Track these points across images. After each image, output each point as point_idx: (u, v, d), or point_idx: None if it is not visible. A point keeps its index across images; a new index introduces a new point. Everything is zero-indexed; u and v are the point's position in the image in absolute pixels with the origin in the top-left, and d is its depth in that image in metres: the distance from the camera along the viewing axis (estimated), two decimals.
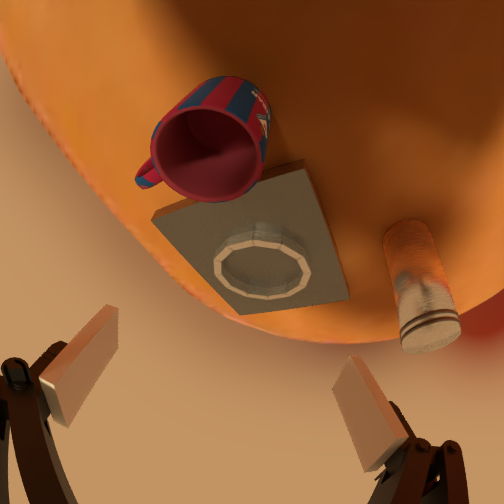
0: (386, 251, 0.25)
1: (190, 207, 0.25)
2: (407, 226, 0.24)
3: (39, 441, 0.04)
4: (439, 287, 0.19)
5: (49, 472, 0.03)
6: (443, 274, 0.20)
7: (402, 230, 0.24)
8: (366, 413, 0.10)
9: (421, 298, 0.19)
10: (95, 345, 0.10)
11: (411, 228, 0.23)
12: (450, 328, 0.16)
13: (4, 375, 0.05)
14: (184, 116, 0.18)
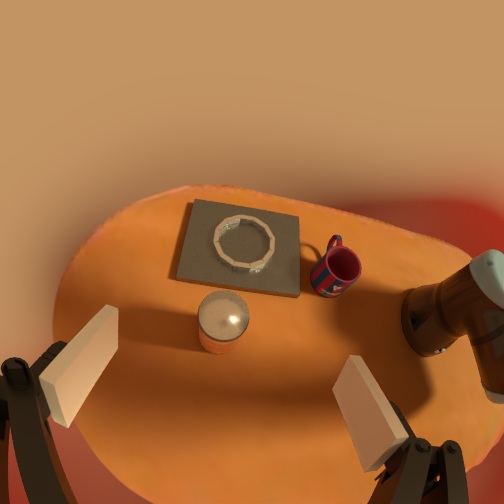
0: None
1: (298, 238, 0.49)
2: None
3: (39, 441, 0.04)
4: None
5: (49, 472, 0.03)
6: (232, 343, 0.33)
7: None
8: (366, 413, 0.10)
9: None
10: (95, 345, 0.10)
11: None
12: (242, 328, 0.29)
13: (4, 375, 0.05)
14: (338, 266, 0.48)
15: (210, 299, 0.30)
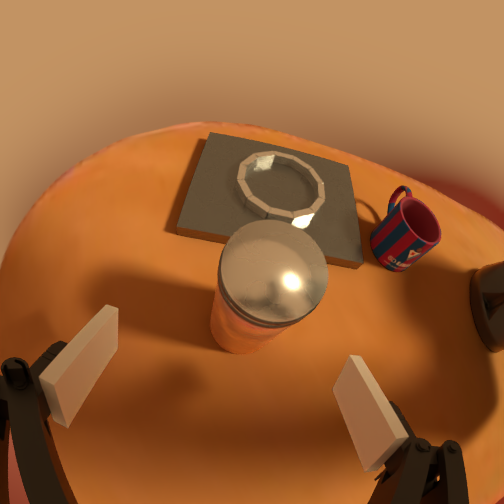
0: None
1: (351, 190, 0.34)
2: None
3: (39, 441, 0.04)
4: None
5: (49, 472, 0.04)
6: (277, 334, 0.17)
7: None
8: (366, 413, 0.10)
9: None
10: (95, 345, 0.10)
11: None
12: (316, 295, 0.13)
13: (4, 375, 0.05)
14: None
15: (247, 234, 0.14)
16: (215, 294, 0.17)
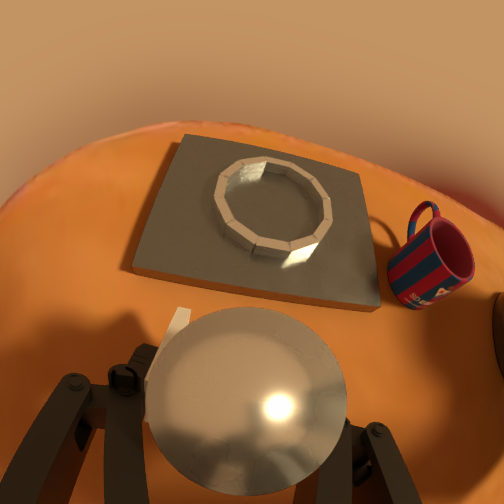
0: None
1: (364, 206, 0.26)
2: None
3: (136, 447, 0.06)
4: None
5: (139, 478, 0.05)
6: None
7: None
8: None
9: None
10: None
11: None
12: (323, 449, 0.06)
13: (110, 379, 0.08)
14: None
15: (195, 343, 0.07)
16: None
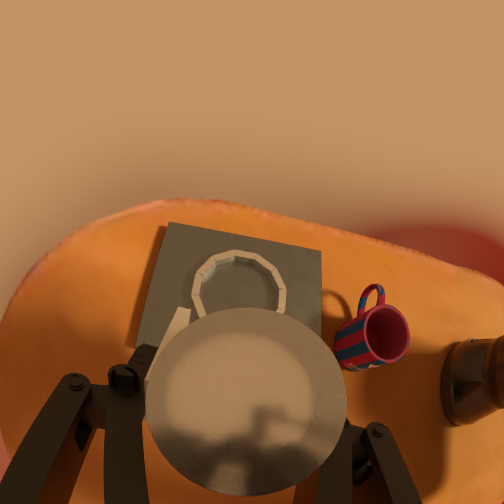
0: None
1: (319, 286, 0.33)
2: None
3: (136, 447, 0.06)
4: None
5: (139, 478, 0.05)
6: None
7: None
8: None
9: None
10: None
11: None
12: (323, 450, 0.06)
13: (110, 379, 0.08)
14: (373, 326, 0.31)
15: (195, 344, 0.07)
16: None
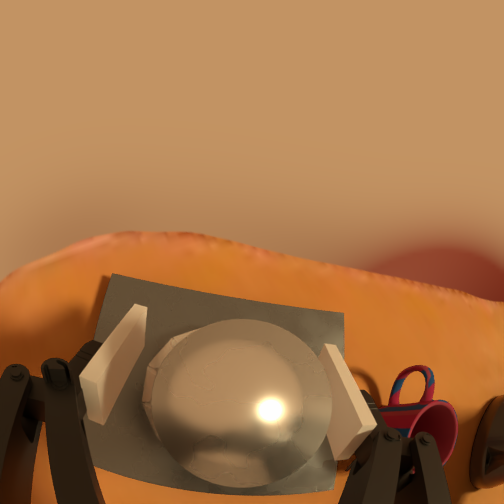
0: None
1: None
2: None
3: (75, 442, 0.05)
4: None
5: (83, 473, 0.04)
6: None
7: None
8: (337, 400, 0.11)
9: None
10: (128, 343, 0.11)
11: None
12: (310, 447, 0.07)
13: (44, 374, 0.06)
14: None
15: (195, 351, 0.08)
16: None
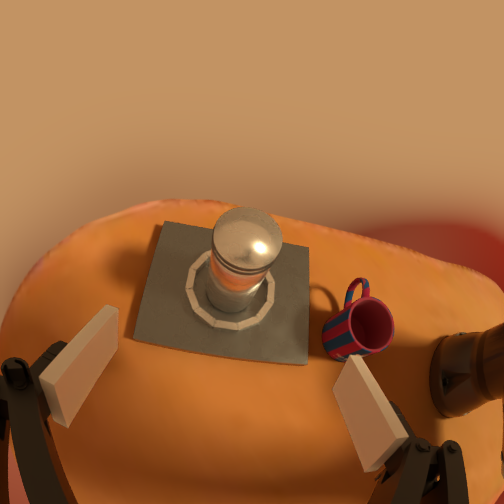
0: None
1: (307, 280, 0.35)
2: None
3: (39, 441, 0.04)
4: (267, 272, 0.25)
5: (50, 473, 0.03)
6: (253, 288, 0.26)
7: None
8: (366, 413, 0.10)
9: None
10: (95, 345, 0.10)
11: None
12: (273, 253, 0.22)
13: (4, 375, 0.05)
14: (360, 319, 0.33)
15: (230, 215, 0.22)
16: (210, 259, 0.25)
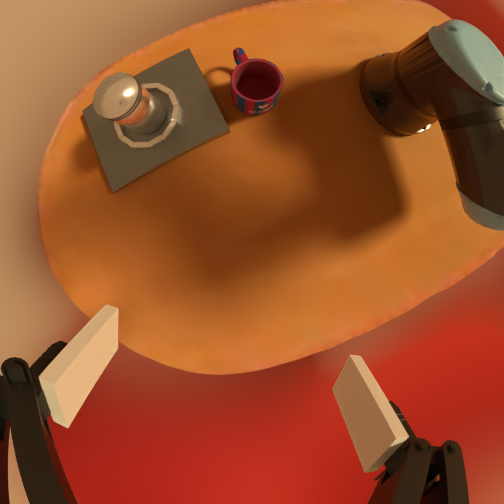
0: None
1: (199, 71, 0.33)
2: (162, 105, 0.34)
3: (39, 441, 0.04)
4: (147, 98, 0.27)
5: (50, 473, 0.03)
6: (148, 112, 0.29)
7: None
8: (366, 413, 0.10)
9: (141, 85, 0.26)
10: (95, 345, 0.10)
11: (162, 106, 0.33)
12: (133, 93, 0.23)
13: (4, 375, 0.05)
14: (259, 75, 0.34)
15: (98, 93, 0.23)
16: None
